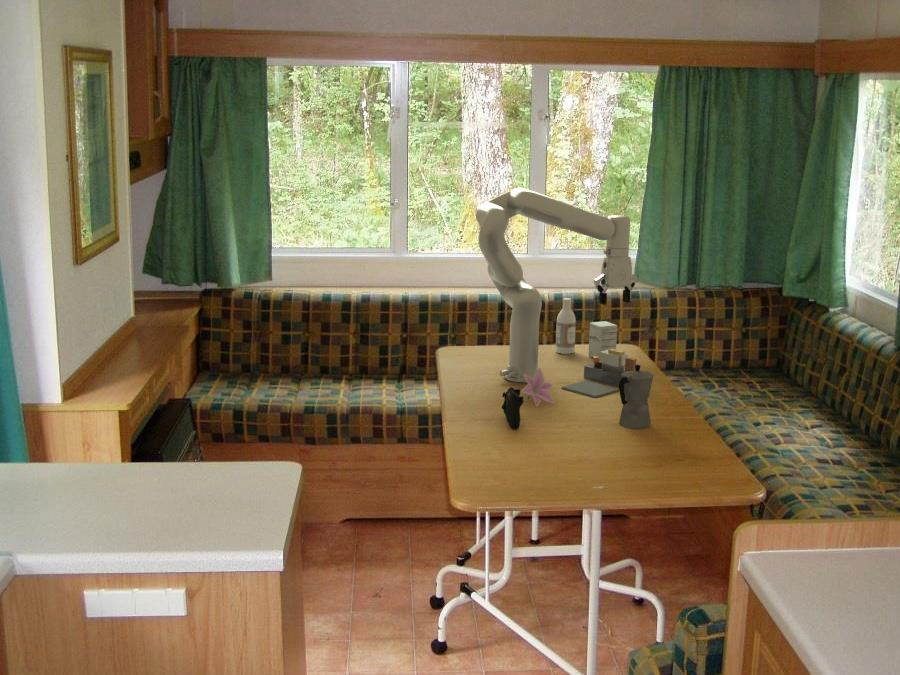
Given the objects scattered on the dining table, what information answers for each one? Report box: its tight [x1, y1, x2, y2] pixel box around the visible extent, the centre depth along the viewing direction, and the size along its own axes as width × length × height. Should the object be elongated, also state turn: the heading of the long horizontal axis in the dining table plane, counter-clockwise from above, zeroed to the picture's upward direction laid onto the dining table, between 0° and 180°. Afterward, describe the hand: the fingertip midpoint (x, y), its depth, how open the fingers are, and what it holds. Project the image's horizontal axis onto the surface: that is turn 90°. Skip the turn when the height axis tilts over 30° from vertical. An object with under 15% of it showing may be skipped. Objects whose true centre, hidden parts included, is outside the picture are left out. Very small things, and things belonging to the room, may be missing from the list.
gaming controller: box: [501, 387, 525, 430], centre depth 325 cm, size 14×6×10 cm, turn 4°
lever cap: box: [599, 348, 629, 367], centre depth 371 cm, size 5×8×5 cm, turn 44°
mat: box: [561, 379, 620, 399], centre depth 362 cm, size 12×14×1 cm
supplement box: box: [588, 320, 618, 359], centre depth 401 cm, size 7×7×13 cm
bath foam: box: [555, 297, 577, 355], centre depth 408 cm, size 7×7×20 cm
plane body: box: [583, 356, 637, 388], centre depth 371 cm, size 8×18×9 cm, turn 44°
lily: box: [521, 367, 555, 407], centre depth 346 cm, size 12×12×10 cm
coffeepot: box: [618, 364, 654, 430], centre depth 324 cm, size 15×9×18 cm, turn 138°
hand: (614, 303), depth 376 cm, fingers open, 9 cm apart
